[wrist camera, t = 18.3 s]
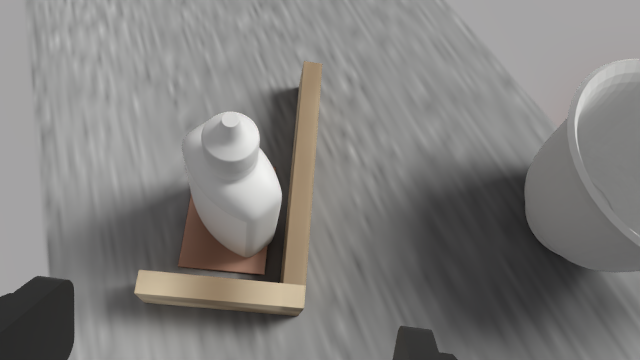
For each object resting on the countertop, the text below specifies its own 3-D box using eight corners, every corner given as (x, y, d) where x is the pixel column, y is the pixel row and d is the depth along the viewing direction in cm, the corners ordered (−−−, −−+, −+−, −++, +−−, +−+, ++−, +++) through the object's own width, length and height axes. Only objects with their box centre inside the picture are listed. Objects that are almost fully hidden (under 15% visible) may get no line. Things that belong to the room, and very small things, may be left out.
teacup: (648, 375, 31) (821, 369, 21) (449, 229, 32) (531, 167, 23) (702, 230, 35) (863, 175, 26) (526, 110, 37) (620, 19, 28)
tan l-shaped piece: (315, 89, 35) (322, 63, 32) (297, 315, 29) (304, 308, 26) (191, 71, 34) (187, 44, 31) (144, 302, 28) (134, 293, 25)
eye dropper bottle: (203, 268, 29) (183, 194, 18) (190, 181, 31) (163, 65, 20) (277, 254, 30) (299, 175, 19) (259, 170, 32) (270, 55, 21)
